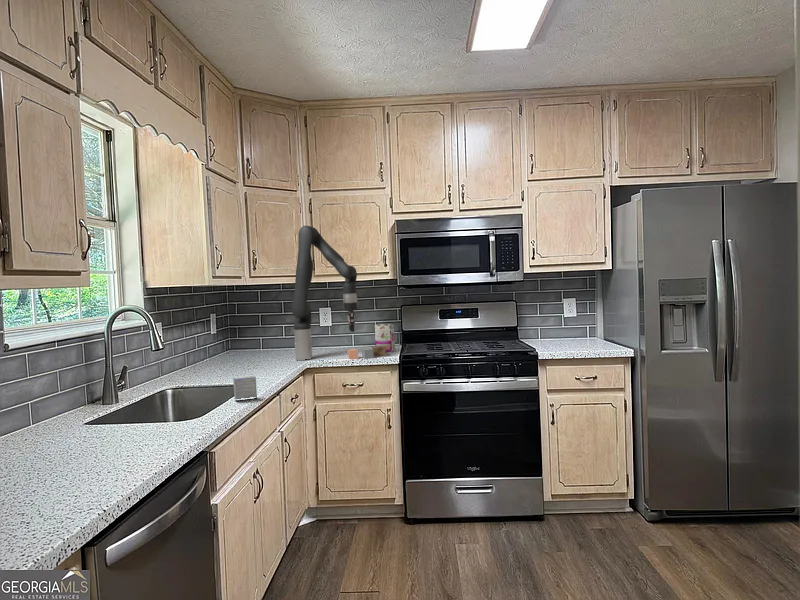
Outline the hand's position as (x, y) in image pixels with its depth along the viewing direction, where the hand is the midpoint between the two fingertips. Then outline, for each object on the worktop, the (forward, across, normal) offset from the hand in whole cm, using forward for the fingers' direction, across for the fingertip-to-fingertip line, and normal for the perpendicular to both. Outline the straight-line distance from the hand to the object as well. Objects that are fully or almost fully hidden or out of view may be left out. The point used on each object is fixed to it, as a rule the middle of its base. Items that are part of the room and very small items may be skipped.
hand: (351, 330), depth 304 cm
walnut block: (+16, -5, +15) cm, 22 cm away
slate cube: (+15, +2, +8) cm, 18 cm away
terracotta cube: (+15, 0, 0) cm, 16 cm away
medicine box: (+16, +89, -48) cm, 103 cm away
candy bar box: (+16, -21, +21) cm, 34 cm away
